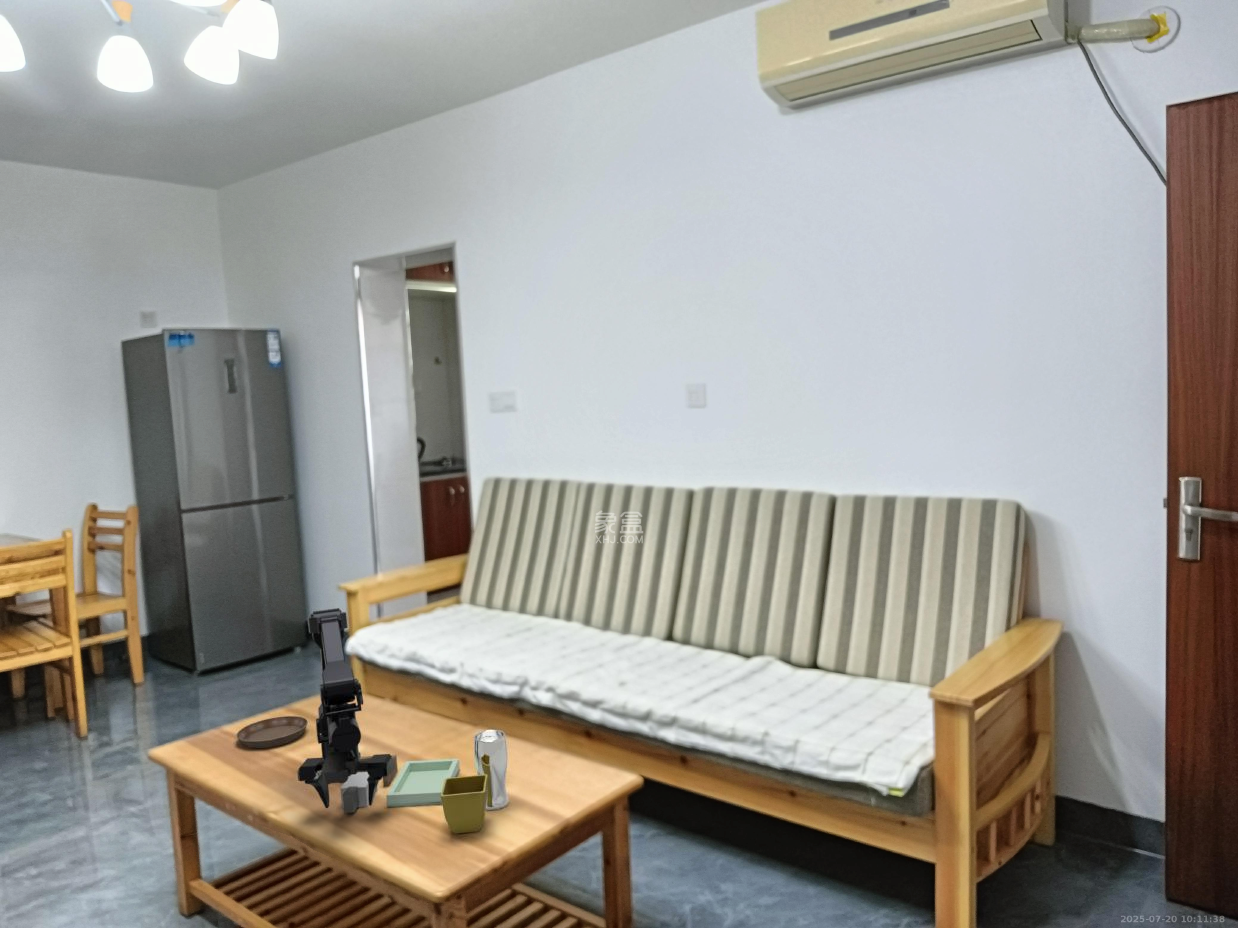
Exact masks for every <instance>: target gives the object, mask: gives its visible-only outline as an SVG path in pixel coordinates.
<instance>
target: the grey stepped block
mask: <svg viewBox="0 0 1238 928" xmlns="http://www.w3.org/2000/svg"><path fill="white" fill-rule="evenodd" d="M368 777H369V775H368V772H357V774H354V775H351V776H349V777H348V780H347V781H346V782H345V783H342V786H341V787H340V797H341V800H340V801H341V808H342V809H343V813H344V814H353V813H355V811H356V810H357V808H363V807H368V806H369V800H368V781H367V778H368ZM377 791H378V788H377V789H376V792H375V794H376V793H378V792H377Z"/></svg>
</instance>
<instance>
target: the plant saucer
mask: <svg viewBox="0 0 1238 928" xmlns="http://www.w3.org/2000/svg"><path fill="white" fill-rule="evenodd" d="M308 722H309V721H308V719H307V718H305V717H302V716H296V715H295V716H294V715H287V716H286V715H285V716H276V717H272V718H271V717H270V718H266V719H262V720H259V721H258V720H257V721H255V722H253V723H250V724H248V725H245V726H244V727H243V728H241V729H239V730H238V732H236V738H237V739H238V741H239V742H241V744H243V745H245V746H246V747H248V748H252V749H266V748H267V749H269V748H274V747H279V746H282V745H285V744H287V743H291V742H292V741H295V740H296V739H298V738H299V737H301V735H302V734H303V733H304V732H305V730H306V728H307V726H308V724H309V723H308Z"/></svg>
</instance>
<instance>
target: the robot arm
mask: <svg viewBox="0 0 1238 928" xmlns="http://www.w3.org/2000/svg"><path fill="white" fill-rule="evenodd" d="M347 617H348V616H347V612H346V611H342V610H341V608H340V607H337V608H330V609H329V608H328V609H322V610H316V611H314V610H313V611H312V613H311V614H310V616H308V617H307V625H308V632H309V634H312V641H313V642H314V643H315V645H316V646H317V647H318V648H319V649H320V650H319V651H320V661H321V664H320V665H321V679H322V680H321V681H322V684H319V695H320V702H321V703H320V705H319V707H318V708H317V712H318V718H315V725H316V726H315V729H316V737H317V738H316V739H317V743H318V745H320V746H321V755H322V756H321V757H309V758H306V759H305V760H304V762H303V763H302V764H301V765H300V766H299V768H298V769H297V780H298V782H304V784H306V785H310V786H312V787H313V788H314V789H315V790H316V792H317V794H318V796H319V797H320V800H321V801H322V803H323V806H324V807H325V809H328V808H329V807H330V789H329V785H330V784H344V783H345V782H346V781H347V780H348V776H351V775H354V774H357V771H365V770H367V772H368V775H369V777H368V778H367V781H368V800H369V805H368V806H370V807H371V806H373V803H374V799H375V796H376V793H377V792H376V789H377V790H378V784H379V782H380V781H381V780H383V777H384V776H387V775H388V773H389V772H390V770H391V768H392V767H393V758H392V756H391V755H392V754H390V753H380V754H378V753H377V754H373V755H372V756H373V757H372V758H371V760H370V761H359V759H360V757H362V756H361V755H362V754H361V752H360V750H359V744H360V743H361V739H362V732H361V729H360V727H359V723H358V720H357V718H356V716H357V715H356V714H357V713H356V712H361V711H362V706H363V705H364V699H363V691H362V685H361V682H359V680H358V678H355V676H354V670H353V668H352V667H351V666H350V665H348V664H347V663H346V658H345V651H344V645H343V640H344V638H345V630H346V629H348V627H349V626H348V618H347ZM354 701H356V702H354ZM375 792H376V793H375Z"/></svg>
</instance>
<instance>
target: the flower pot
mask: <svg viewBox="0 0 1238 928" xmlns="http://www.w3.org/2000/svg"><path fill="white" fill-rule="evenodd" d="M487 778H488V776H487V775H486V774H484V775H478V774H476V775H475V774H474V775H467V776H466V775H464V776H457V777H453V778H446V779H445V780H444V784H443V788H442V792H441V801H442V804H441V805H442V809H443V815H444V819H445V822H446V823H447V824H446V825H448V828H450V830H451V831H452V832H453V833H454V834H463V833H465V834H466V833H474V832H475V833H476V832H479V831H480V830H481V829H482V827H483V824H484V819H485V815H486V814H485V813H486V809H485V808H486V802H487Z"/></svg>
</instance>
